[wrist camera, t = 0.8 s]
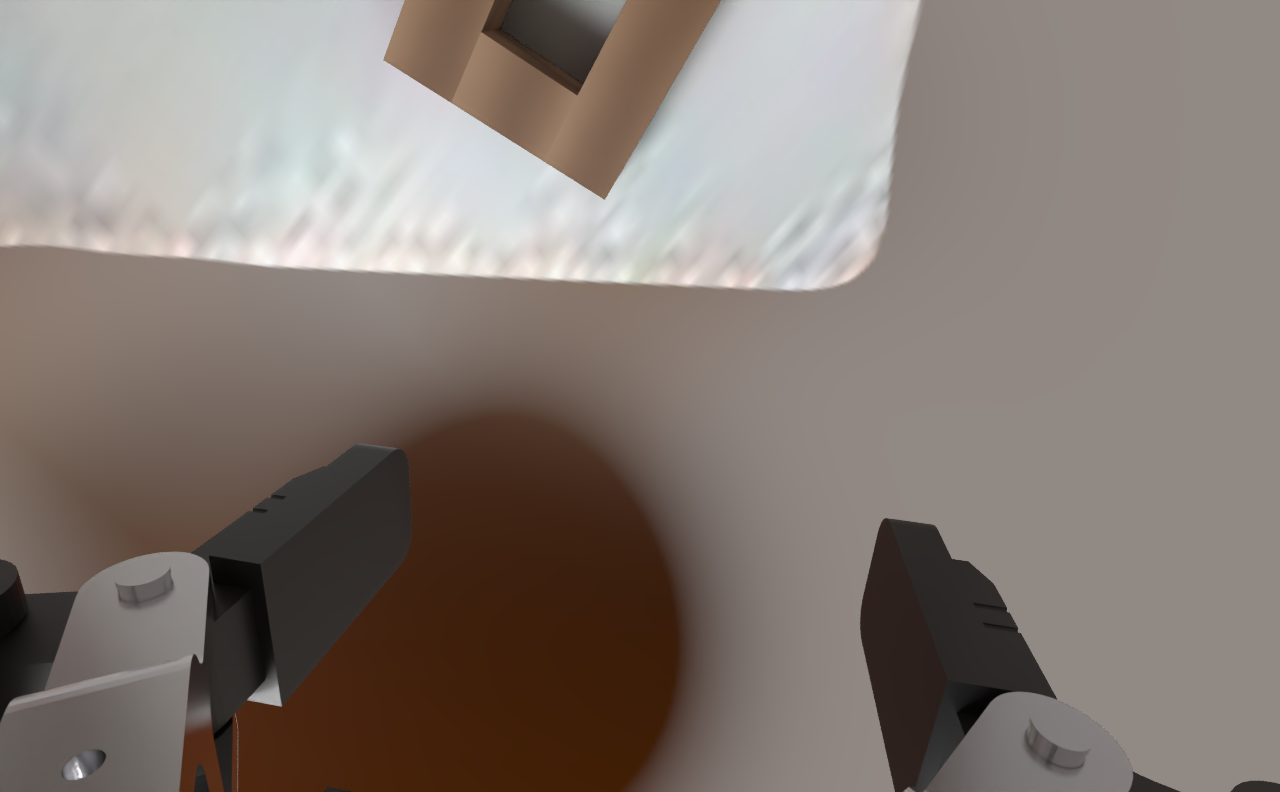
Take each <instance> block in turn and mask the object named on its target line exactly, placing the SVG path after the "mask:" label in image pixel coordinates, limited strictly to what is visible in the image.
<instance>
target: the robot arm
mask: <svg viewBox="0 0 1280 792" xmlns="http://www.w3.org/2000/svg"><path fill="white" fill-rule="evenodd" d="M409 485H410V483H409V465H408V458H407V456H406V454H405V452H404V451H403V450H402V449H397V448H390V447H383V446H376V445H369V444H362V443H361V444H360V443H359V444H356V445H354V446H353V447H352V448H350V449H349V450H348V451H346V452H345V453H344V454H342V455H341V456H340V457H338V458H337V459H336V460H334V461H333V462H332V463H330V464H329V465H328V466H326V467H321V468H319V469H316V470H314V471H311V472H309V473H306V474H304V475H301V476H299V477H296V478H294V479H292V480H291V481H289V482H288V483H287V484H285V485H284V486H283V487H281V488H280V489H279V490H277V491H276V492H274V493H273V494H272V496H271V498H266V499H265V500H263V501H262V502H261V503H259V504H258V505H256V506H255V507H254V508H253V511H252V512H250V511H248V512H247V513H245V514H244V515H243V516H241V517H240V518H239V519H237V520H236V521H235V522H233V523H232V524H230V525H229V526H228V527H226V528H225V529H224V530H222V531H221V532H219V533H218V534H217V535H215V536H214V537H212V538H211V539H210V540H208V541H207V542H206V543H204V544H203V545H201V546H200V547H199V548H197V549H196V550H195V551H193V552H192V553H183V552H161V553H154V554H148V555H144V556H139V557H136V558H132V559H129V560H126V561H124V562H121V563H118V564H116V565H114V566H111V567H109V568H107V569H106V570H104V571H102V572H100V573H98V574H97V575H96V576H94V577H93V578H91V579H90V580H89V581H88V582H86V583H85V584H84V585H83V587H82V588H81V589H80V590H79V591H78V592H59V593H41V594H25V593H24V590H23V586H22V583H21V580H20V576H19V573H18V570H17V568H16V566H15V565H13V564H12V563H10V562H8V561H5V560H0V792H238V727H237V721H236V715H235V713H236V712H237V710H238V709H239V708H240V707H241V706H242V705H243V704H244V703H245V702H246V701H247V700H251V701H256V702H261V703H266V704H271V705H276V706H282V705H283V704H284V703H285V702H286V701H287V699H288V698H289V697H290V696H291V695H292V693H293V692H294V691H295V690H296V689H297V687H298V686H299V685H300V684H301V682H302V681H303V680H304V679H305V678H306V677H307V676H308V674H309V673H310V672H311V671H312V670H313V668H314V667H315V666H316V665H317V664H318V662H319V661H320V660H321V659H322V658H323V656H324V655H325V654H326V653H327V652H328V650H329V649H330V648H331V647H332V646H333V644H334V643H335V642H336V641H337V640H338V639H339V637H340V636H341V635H342V634H343V633H344V631H345V630H346V629H347V628H348V627H349V626H350V624H351V623H352V622H353V621H354V619H355V618H356V617H357V616H358V615H359V614H360V612H361V611H362V610H363V609H364V608H365V606H366V605H367V604H368V603H369V601H370V600H371V599H372V598H373V597H374V596H375V594H376V593H377V592H378V591H379V590H380V588H381V587H382V586H383V585H384V584H385V583H386V581H387V580H388V579H389V578H390V576H391V575H392V574H393V573H394V572H395V571H396V569H397V568H398V567H399V566H400V565H401V563H402V562H403V560H404V558H405V556H406V554H407V551H408V548H409V545H410V540H411V533H412V523H411V503H410V486H409ZM860 630H861V639H862V645H863V649H864V654H865V658H866V663H867V667H868V672H869V676H870V681H871V685H872V690H873V694H874V699H875V703H876V708H877V713H878V717H879V721H880V726H881V731H882V735H883V739H884V744H885V749H886V753H887V758H888V762H889V767H890V771H891V776H892V780H893V785H894V789H895V792H1179V791H1177V790H1174V789H1172V788H1170V787H1167V786H1165V785H1162V784H1159V783H1157V782H1154V781H1152V780H1150V779H1148V778H1145V777H1143V776H1141V775H1139V774H1137V773H1135V772H1133V770H1132V766H1131V763H1130V761H1129V758H1128V757H1127V755H1126V753H1125V751H1124V750H1123V749H1122V747H1121V746H1120V745H1119V743H1118V742H1117V741H1116V740H1115V739H1114V737H1113V736H1112V735H1110V733H1109V732H1108V731H1107V730H1105V729H1104V728H1103V727H1102V726H1101V725H1099V724H1098V723H1097V722H1095V721H1094V720H1093V719H1091V718H1090V717H1089V716H1087V715H1086V714H1084V713H1082V712H1081V711H1079V710H1077V709H1076V708H1074V707H1071V706H1070V705H1067V704H1065V703H1063V702H1061V701H1058V700H1057V698H1056V696H1055V694H1054V693H1053V691H1052V689H1051V687H1050V685H1049V684H1048V682H1047V680H1046V678H1045V676H1044V675H1043V673H1042V671H1041V669H1040V667H1039V665H1038V663H1037V662H1036V660H1035V658H1034V656H1033V654H1032V653H1031V651H1030V649H1029V647H1028V645H1027V644H1026V642H1025V640H1024V638H1023V636H1022V634H1021V633H1018V627H1017V625H1016V623H1015V622H1014V620H1013V618H1012V616H1011V614H1010V613H1008V612H1007V607H1006V605H1005V603H1004V602H1003V600H1002V598H1001V596H1000V594H999V593H998V591H997V589H996V587H995V585H994V584H993V583H992V582H991V581H990V580H988V578H986V577H985V576H984V575H983V574H982V573H981V572H980V571H979V570H977V569H976V568H975V567H974V566H973V565H972V564H970V563H969V562H968V561H961V560H955V559H952V558H951V556H950V554H949V552H948V550H947V548H946V546H945V544H944V542H943V540H942V538H941V536H940V533H939V531H938V529H937V528H936V527H935V526H934V525H931V524H923V523H917V522H910V521H903V520H895V519H888V518H885V519H884V520H883V521H882V523H881V525H880V528H879V531H878V535H877V540H876V543H875V548H874V552H873V556H872V561H871V565H870V569H869V574H868V578H867V582H866V587H865V591H864V595H863V600H862V606H861V618H860ZM324 792H351V791H345V790H341V789H336V788H331V787H327V788H326V790H325V791H324ZM1231 792H1280V784H1277V783H1272V782H1266V781H1248V782H1242V783H1240V784H1239V785H1237V786H1235V787H1234V789H1233V790H1232V791H1231Z"/></svg>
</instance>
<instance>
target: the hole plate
mask: <svg viewBox="0 0 1280 792" xmlns="http://www.w3.org/2000/svg"><path fill="white" fill-rule="evenodd" d="M512 1H513V0H405V1H404V4H403V7H402V10H401V13H400V15H399V18H398V21H397V24H396V26H395V29H394V32H393V35H392V38H391V40H390V43H389V46H388V49H387V51H386V54H385V57H384V61H386V62H388V63H389V64H391V65H392V66H394V67H396V68H397V69H399V70H400V71H402V72H403V73H405V74H407V75H408V76H410V77H411V78H413V79H415V80H416V81H418V82H419V83H421V84H422V85H424V86H426V87H427V88H429V89H430V90H432V91H434V92H435V93H437V94H438V95H440V96H441V97H443V98H445V99H446V100H448V101H449V102H451V103H452V104H454V105H456V106H457V107H459V108H460V109H462V110H464V111H465V112H467V113H468V114H470V115H471V116H473V117H475V118H476V119H478V120H479V121H481V122H483V123H484V124H486V125H487V126H489V127H490V128H492V129H494V130H495V131H497V132H498V133H500V134H501V135H503V136H505V137H506V138H508V139H509V140H511V141H513V142H514V143H516V144H517V145H519V146H520V147H522V148H524V149H525V150H527V151H528V152H530V153H532V154H533V155H535V156H536V157H538V158H539V159H541V160H543V161H544V162H546V163H547V164H549V165H551V166H552V167H554V168H555V169H557V170H558V171H560V172H562V173H563V174H565V175H566V176H568V177H569V178H571V179H573V180H574V181H576V182H577V183H579V184H581V185H582V186H584V187H585V188H587V189H588V190H590V191H592V192H593V193H595V194H596V195H598V196H600V197H601V198H603V199H604V200H605V198H606V197H607V195H608V193H609V192H610V190H611V188H612V186H613V185H614V183H615V181H616V180H617V178H618V176H619V174H620V173H621V171H622V169H623V168H624V166H625V164H626V162H627V161H628V159H629V157H630V156H631V154H632V152H633V150H634V149H635V147H636V145H637V144H638V142H639V140H640V138H641V137H642V135H643V133H644V132H645V130H646V128H647V126H648V125H649V123H650V121H651V120H652V118H653V116H654V114H655V113H656V111H657V109H658V108H659V106H660V104H661V102H662V101H663V99H664V97H665V95H666V94H667V92H668V90H669V89H670V87H671V85H672V83H673V82H674V80H675V78H676V77H677V75H678V73H679V71H680V70H681V68H682V66H683V65H684V63H685V61H686V59H687V58H688V56H689V54H690V53H691V51H692V49H693V47H694V46H695V44H696V42H697V41H698V39H699V37H700V35H701V34H702V32H703V30H704V29H705V27H706V25H707V23H708V22H709V20H710V18H711V17H712V15H713V13H714V11H715V10H716V8H717V6H718V5H719V3H720V1H721V0H627V1H626V3H625V5H624V7H623V9H622V10H621V12H620V14H619V16H618V18H617V20H616V22H615V24H614V26H613V28H612V30H611V32H610V34H609V36H608V38H607V39H606V41H605V43H604V45H603V47H602V49H601V51H600V53H599V55H598V57H597V59H596V61H595V63H594V65H593V67H592V69H591V70H590V72H589V74H588V76H587V78H586V80H585V82H584V84H582V83H580V82H579V81H577V80H576V79H574V78H573V77H571V76H570V75H568V74H567V73H565V72H564V71H562V70H561V69H559V68H558V67H556V66H555V65H553V64H552V63H550V62H549V61H547V60H546V59H544V58H543V57H541V56H540V55H538V54H537V53H535V52H534V51H532V50H531V49H529V48H528V47H526V46H525V45H523V44H522V43H520V42H519V41H517V40H516V39H514V38H513V37H511V36H510V35H508V34H507V33H505V32H504V31H502V30H501V29H500V28H501V26H502V24H503V21H504V19H505V17H506V14H507V12H508V10H509V7H510V5H511V3H512Z"/></svg>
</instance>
